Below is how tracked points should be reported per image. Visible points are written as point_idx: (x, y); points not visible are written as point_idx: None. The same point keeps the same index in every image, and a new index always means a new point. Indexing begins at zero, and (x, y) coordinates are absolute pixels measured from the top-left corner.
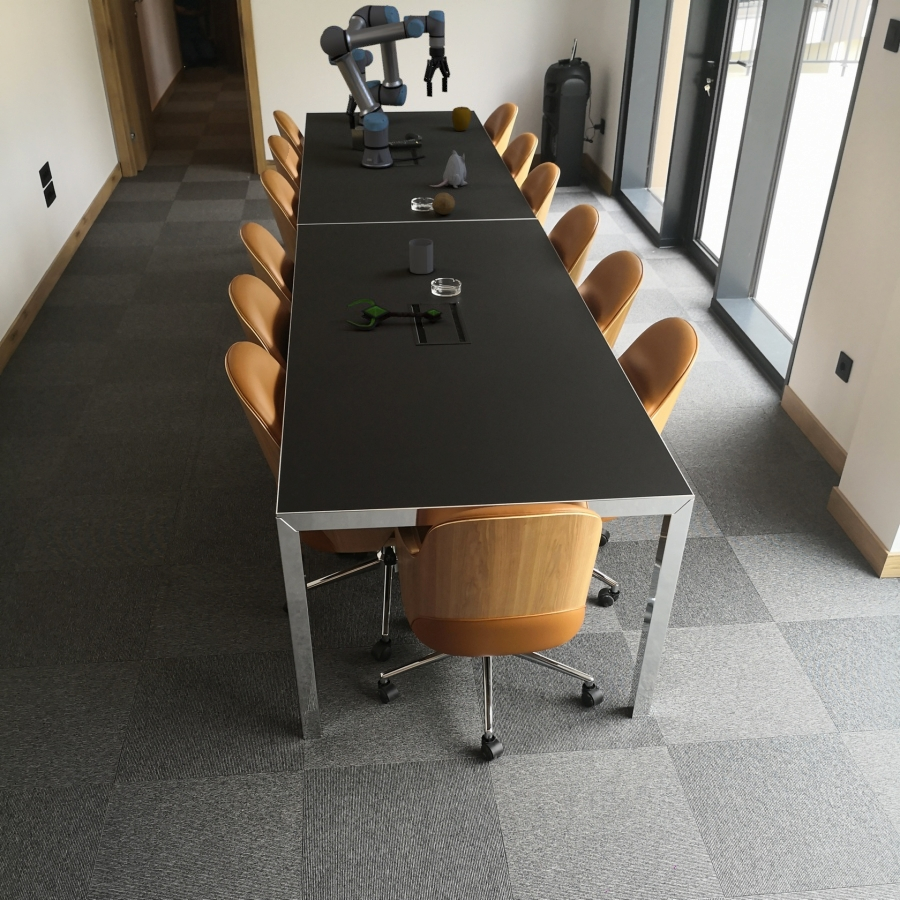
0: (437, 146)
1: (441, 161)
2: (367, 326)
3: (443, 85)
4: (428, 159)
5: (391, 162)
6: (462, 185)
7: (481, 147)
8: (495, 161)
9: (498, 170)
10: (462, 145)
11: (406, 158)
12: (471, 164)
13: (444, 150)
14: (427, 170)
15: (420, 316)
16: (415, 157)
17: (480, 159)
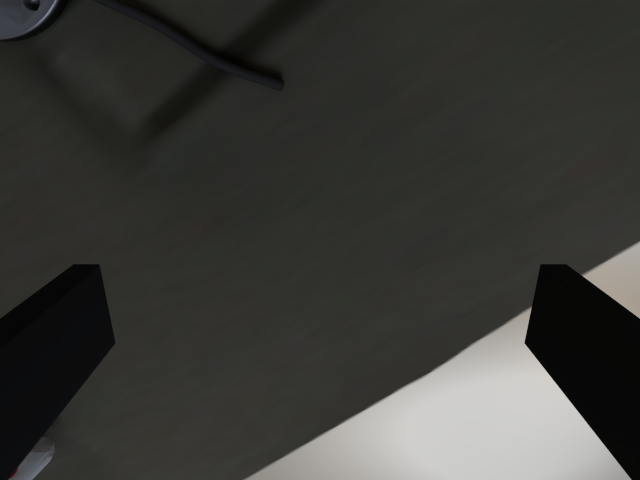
0: (545, 2)
1: (270, 205)
2: None
3: (597, 353)
4: (265, 128)
5: (12, 35)
6: None
7: (609, 228)
8: (397, 385)
9: (285, 445)
10: (619, 122)
11: (170, 34)
12: (303, 335)
13: (474, 96)
14: (103, 235)
15: None
16: (220, 67)
17: (396, 327)
